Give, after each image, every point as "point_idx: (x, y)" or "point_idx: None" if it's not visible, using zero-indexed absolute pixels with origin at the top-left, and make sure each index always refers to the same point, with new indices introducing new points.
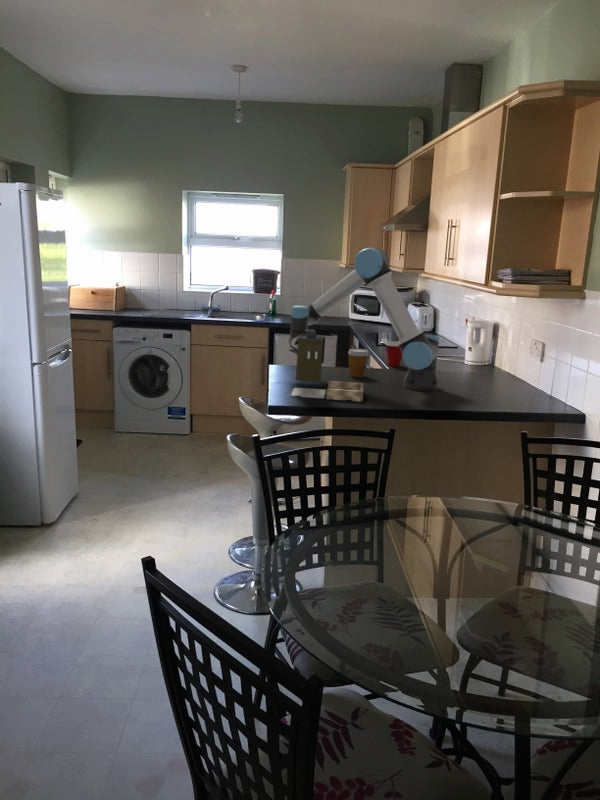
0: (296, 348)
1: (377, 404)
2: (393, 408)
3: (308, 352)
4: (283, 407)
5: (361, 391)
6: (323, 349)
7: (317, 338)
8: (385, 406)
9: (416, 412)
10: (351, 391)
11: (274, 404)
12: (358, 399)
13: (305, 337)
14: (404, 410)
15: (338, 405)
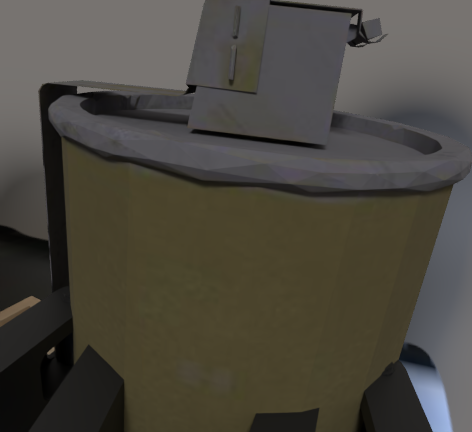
0: (420, 414)
1: (23, 296)
2: (27, 259)
3: None
4: (401, 349)
5: (36, 299)
6: (67, 254)
7: (178, 118)
8: (25, 276)
9: (11, 229)
10: None
11: (443, 392)
12: None
13: (330, 149)
14: (20, 243)
15: None
